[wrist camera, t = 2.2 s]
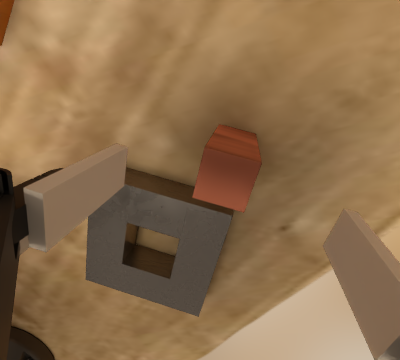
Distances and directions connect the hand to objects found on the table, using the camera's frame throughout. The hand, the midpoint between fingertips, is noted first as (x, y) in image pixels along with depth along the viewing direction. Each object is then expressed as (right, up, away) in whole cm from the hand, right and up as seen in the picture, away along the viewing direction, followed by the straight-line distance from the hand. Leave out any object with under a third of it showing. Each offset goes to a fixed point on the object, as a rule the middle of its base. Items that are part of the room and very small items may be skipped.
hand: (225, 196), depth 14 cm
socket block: (-7, -6, +18) cm, 20 cm away
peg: (+2, +5, +12) cm, 13 cm away
